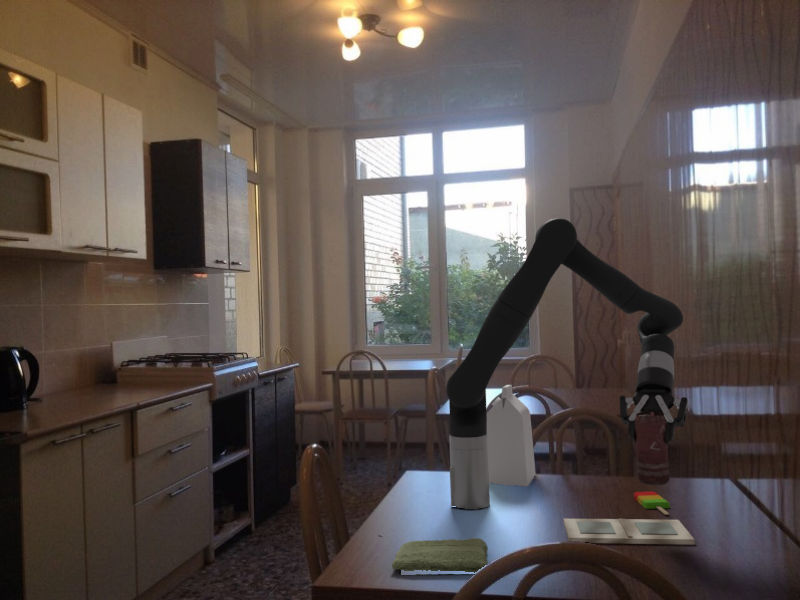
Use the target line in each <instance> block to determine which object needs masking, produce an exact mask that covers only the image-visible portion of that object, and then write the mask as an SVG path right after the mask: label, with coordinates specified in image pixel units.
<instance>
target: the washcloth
mask: <svg viewBox="0 0 800 600" xmlns="http://www.w3.org/2000/svg"><path fill="white" fill-rule="evenodd" d="M488 551H489V548H488V545H487V543H486V541H485V540H484V539H482V538H479V537H472V538H466V539H455V538H453V539H452V538H451V539H450V538H449V539H441V540H440V539H439V540H438V539H435V540H433V539H432V540H424V539H423V540H412V541H408V542H405V543H403V544H402V545H401V546H400V548H399V549H398V551H397V552H396V554H395V559H394V560H393V561H392V563H391V567H392V569H393V570H396V569H400V570H404V571H414V570H422V571H423V570H426V571H428V570H431V571H438V570H440V571H465V572H474V573H475V572H477V571H478V570H479V569H481V568H482V567H484V566H485V565H487V564H488V558H487V556H486V555H487V554H488ZM400 570H399V571H400Z"/></svg>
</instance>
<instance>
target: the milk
mask: <svg viewBox="0 0 800 600" xmlns="http://www.w3.org/2000/svg"><path fill="white" fill-rule="evenodd" d="M512 385H513V384H506V385H504V386H502V389H501V398H500V397H499V396H498V397H497V398H496V399H495V400H494V401H493V402H492V403H491V406H492V407H491V408H490V409H489V410H488V411H487V448H488V472H489V483H495V484H494V485H498V484H503V485H502V486H514V485H517V486H516V487H528V486H529V485H530V484H531V482H532V481H533V479H535V477H536V475H537V474H536V466H535V465H536V464H535V454H534V453H535V451H534V443H533V441H534V440H533V433H532V432H533V431H532V420H531V419H532V418H531V412H530V410H529V408H528V407H527V405H525V403H523V402H522V401H521V400H520V399H519V398H518V397H516V396H515V395H514V394H513V386H512ZM534 476H535V477H534Z"/></svg>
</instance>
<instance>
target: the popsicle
mask: <svg viewBox="0 0 800 600" xmlns="http://www.w3.org/2000/svg"><path fill="white" fill-rule="evenodd" d="M633 499H634V500H635V501H636V502H637V501H638V502H637V503H638V504H640V505H641V506H642V507H643V508H645V509H647V510H649V509H651V510H652V509H654V510H655V509H657V510H658V511H659V512H661V514H663V515H664V516H669V515H670V513H669V512H668V511H667V510H665V509H670V507H671V506H670V505H671V504H670V502H668V501H667V500H666V499H665V498H663V497H662V496H661V495H659V494H658V493H657V492H655V491H635V492H634V494H633Z"/></svg>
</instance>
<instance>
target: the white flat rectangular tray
mask: <svg viewBox="0 0 800 600" xmlns="http://www.w3.org/2000/svg"><path fill="white" fill-rule="evenodd" d="M563 525H564V529H565V531H566V536H567V538H568V539H567V540H568V542H569V541H580V542H589V543H588V544H631V545H633V544H634V545H635V544H636V545H638V544H639V545H643V544H644V545H696V540H695V538H694V536H692V534H691V533H690V532H689V531H688V529H687V528H686V527H685V526H684V525H683V523H682V522H681V521H680V519H654V518H653V519H650V518H649V519H640V518H639V519H638V518H636V519H635V518H633V519H632V518H631V519H630V518H629V519H628V518H616V519H615V518H563Z"/></svg>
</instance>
